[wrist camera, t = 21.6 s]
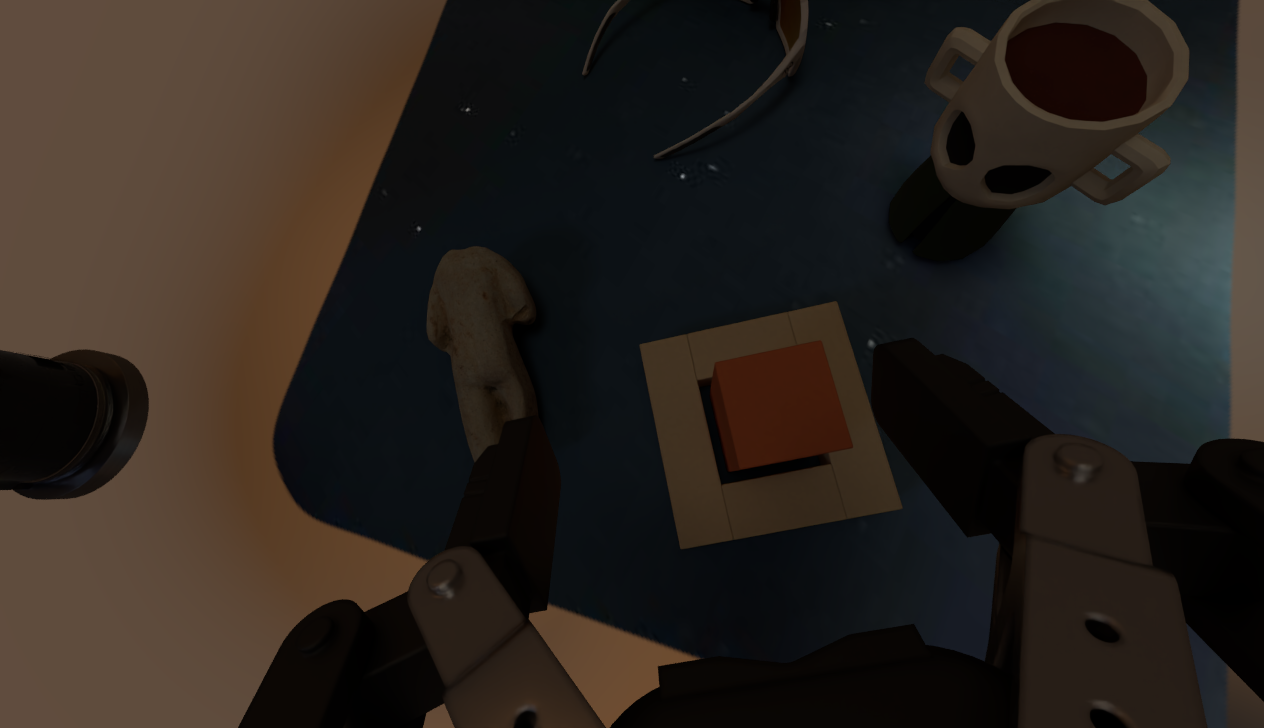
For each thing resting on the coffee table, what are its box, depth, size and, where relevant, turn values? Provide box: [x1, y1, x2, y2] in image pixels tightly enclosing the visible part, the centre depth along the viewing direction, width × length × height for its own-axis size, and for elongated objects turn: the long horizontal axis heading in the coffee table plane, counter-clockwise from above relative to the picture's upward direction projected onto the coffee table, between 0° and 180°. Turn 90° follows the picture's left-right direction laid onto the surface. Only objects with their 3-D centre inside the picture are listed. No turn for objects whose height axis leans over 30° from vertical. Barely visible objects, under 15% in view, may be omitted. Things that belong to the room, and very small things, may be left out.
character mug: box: [889, 0, 1189, 261], centre depth 26 cm, size 11×7×13 cm, turn 42°
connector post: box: [710, 340, 853, 472], centre depth 26 cm, size 5×5×9 cm
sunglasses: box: [582, 0, 808, 159], centre depth 36 cm, size 14×15×5 cm
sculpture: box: [427, 246, 538, 462], centre depth 31 cm, size 7×5×15 cm
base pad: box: [640, 301, 902, 549], centre depth 29 cm, size 12×12×2 cm
